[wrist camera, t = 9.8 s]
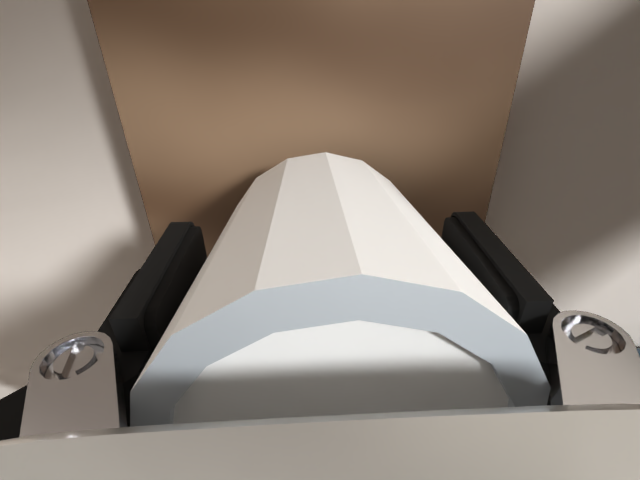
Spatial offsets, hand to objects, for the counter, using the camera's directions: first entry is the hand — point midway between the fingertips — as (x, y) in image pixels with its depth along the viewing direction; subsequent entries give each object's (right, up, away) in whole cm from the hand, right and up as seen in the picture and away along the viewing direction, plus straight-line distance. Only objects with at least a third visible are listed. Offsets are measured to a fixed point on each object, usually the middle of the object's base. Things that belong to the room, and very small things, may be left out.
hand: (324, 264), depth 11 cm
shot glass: (0, +1, +2) cm, 2 cm away
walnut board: (0, +2, +4) cm, 4 cm away
